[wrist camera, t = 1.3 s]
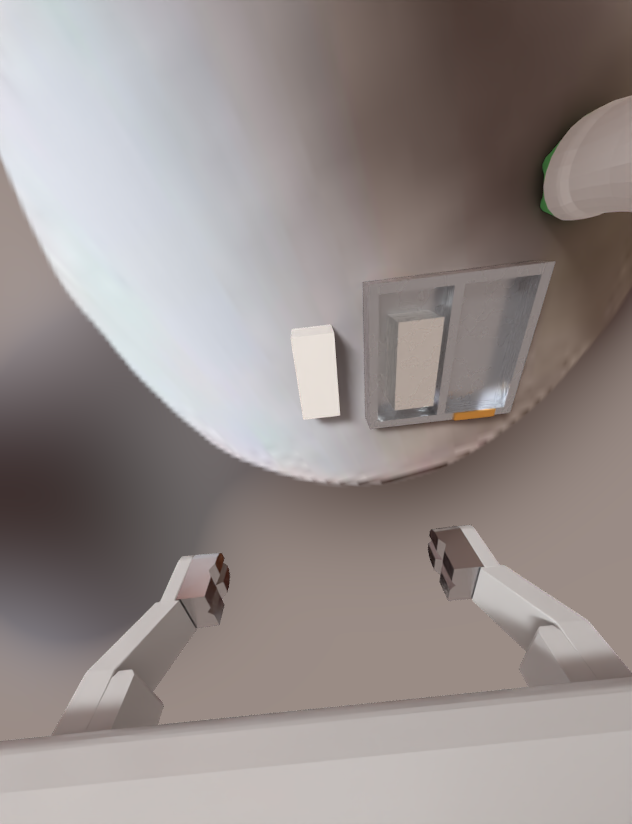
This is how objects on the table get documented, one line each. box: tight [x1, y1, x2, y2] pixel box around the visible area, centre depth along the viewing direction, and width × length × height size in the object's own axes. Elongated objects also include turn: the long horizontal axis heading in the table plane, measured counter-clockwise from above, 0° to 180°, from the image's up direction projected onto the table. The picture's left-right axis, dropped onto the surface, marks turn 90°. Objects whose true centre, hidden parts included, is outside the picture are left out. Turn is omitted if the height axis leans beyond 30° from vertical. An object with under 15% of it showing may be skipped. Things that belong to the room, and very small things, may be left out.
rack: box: [363, 261, 556, 429], centre depth 31 cm, size 17×18×5 cm
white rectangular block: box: [291, 325, 340, 420], centre depth 32 cm, size 10×4×4 cm, turn 6°
